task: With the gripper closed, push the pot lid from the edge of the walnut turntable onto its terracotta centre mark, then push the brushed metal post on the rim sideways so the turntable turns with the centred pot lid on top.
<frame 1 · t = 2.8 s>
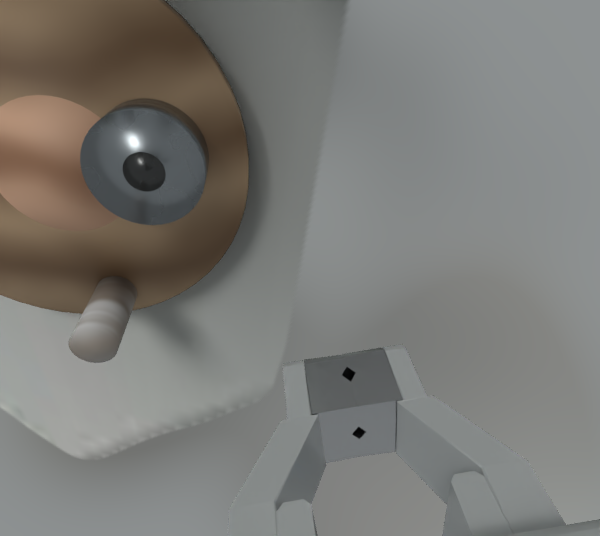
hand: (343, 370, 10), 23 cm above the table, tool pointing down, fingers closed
turntable: (48, 180, 25), point 4 cm above the table, hinge at 0.0°, touching pot lid
pot lid: (153, 155, 27), point 3 cm above the table, touching turntable
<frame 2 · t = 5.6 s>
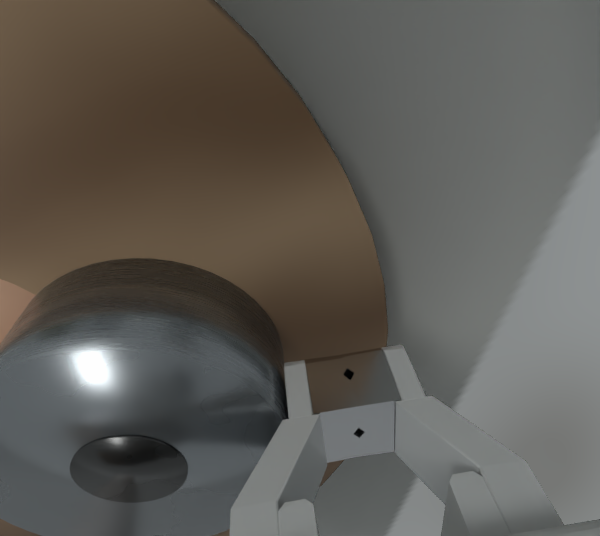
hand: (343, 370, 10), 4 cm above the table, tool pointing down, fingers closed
pot lid: (156, 366, 12), point 3 cm above the table, touching gripper
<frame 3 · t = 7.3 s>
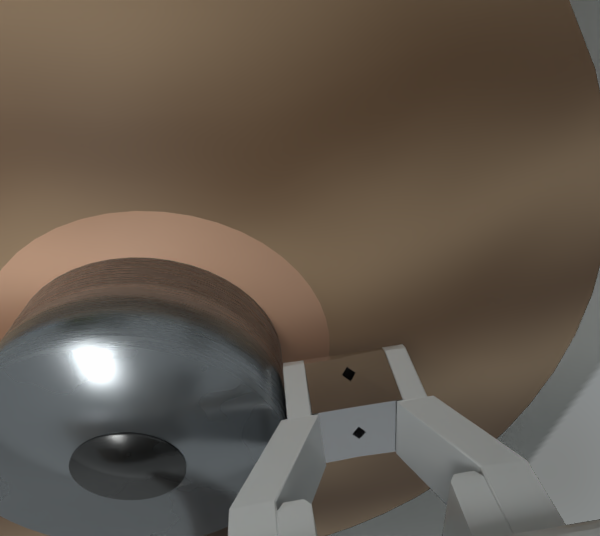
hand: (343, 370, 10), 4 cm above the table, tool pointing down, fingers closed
turntable: (154, 421, 10), point 5 cm above the table, hinge at 0.0°, touching pot lid
pot lid: (155, 365, 12), point 3 cm above the table, touching turntable
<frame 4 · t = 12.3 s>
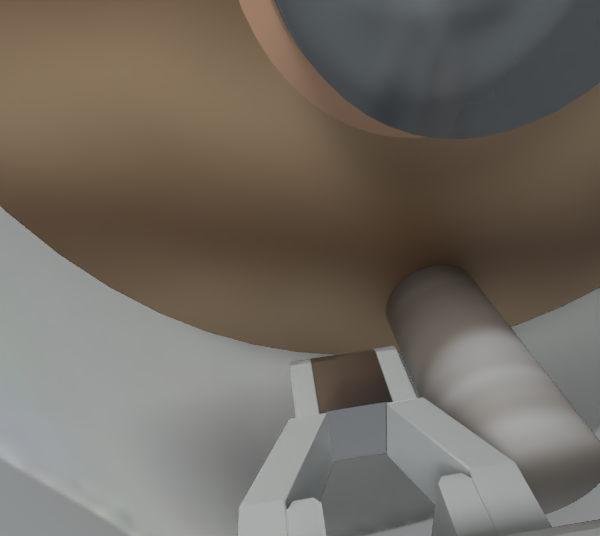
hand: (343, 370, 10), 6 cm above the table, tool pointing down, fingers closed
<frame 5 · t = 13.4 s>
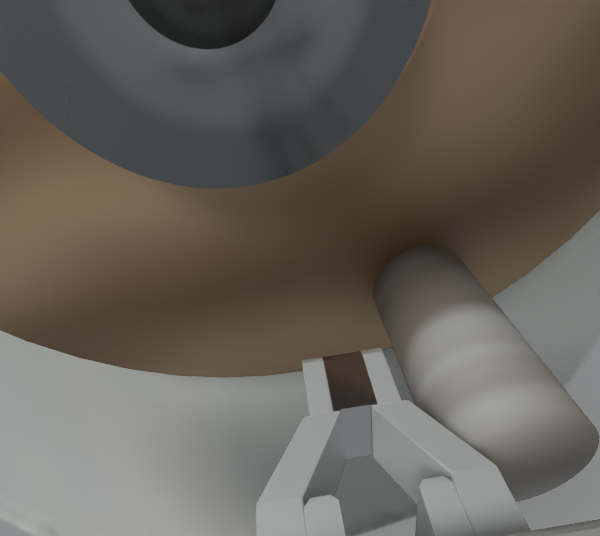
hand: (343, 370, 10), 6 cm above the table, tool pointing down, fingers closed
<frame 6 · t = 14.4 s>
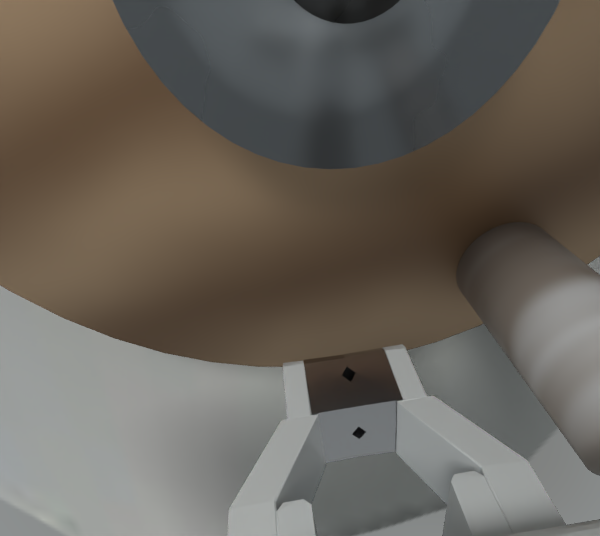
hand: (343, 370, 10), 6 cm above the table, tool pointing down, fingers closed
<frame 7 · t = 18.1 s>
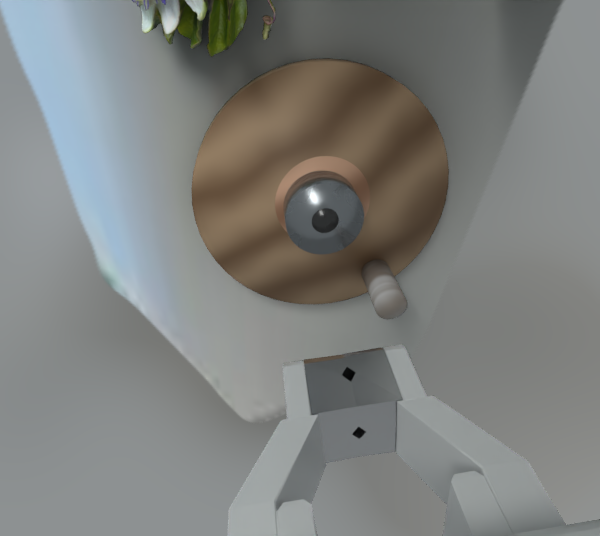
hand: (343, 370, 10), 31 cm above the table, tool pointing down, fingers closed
turntable: (326, 212, 38), point 4 cm above the table, hinge at 29.0°, touching pot lid
pot lid: (320, 206, 39), point 2 cm above the table, touching turntable
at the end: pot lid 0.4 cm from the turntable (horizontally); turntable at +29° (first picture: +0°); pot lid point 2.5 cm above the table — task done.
